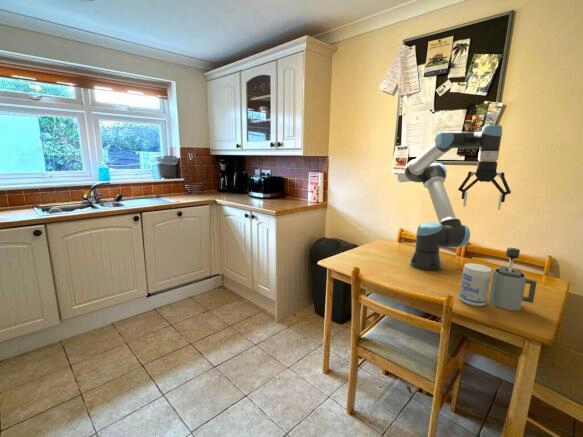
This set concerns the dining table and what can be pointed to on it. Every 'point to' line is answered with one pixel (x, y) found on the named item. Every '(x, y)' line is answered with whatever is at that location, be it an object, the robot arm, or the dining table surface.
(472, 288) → the supplement tub
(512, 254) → the plunger
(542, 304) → the dining table surface
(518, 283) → the press carafe
